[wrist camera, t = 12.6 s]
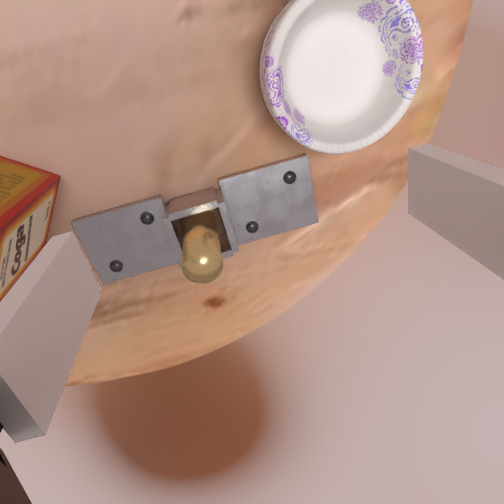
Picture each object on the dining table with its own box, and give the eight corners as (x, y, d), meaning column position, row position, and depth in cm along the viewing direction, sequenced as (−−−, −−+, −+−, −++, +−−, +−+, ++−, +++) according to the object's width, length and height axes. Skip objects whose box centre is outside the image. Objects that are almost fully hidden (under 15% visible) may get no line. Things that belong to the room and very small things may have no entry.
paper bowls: (226, 84, 40) (233, 89, 33) (317, -51, 36) (348, -78, 29) (324, 165, 46) (348, 184, 39) (413, 57, 42) (457, 56, 35)
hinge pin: (189, 238, 48) (189, 288, 37) (179, 210, 46) (176, 254, 35) (219, 229, 48) (227, 277, 37) (210, 201, 46) (216, 243, 36)
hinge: (104, 280, 49) (96, 301, 44) (73, 219, 45) (60, 237, 40) (316, 219, 49) (328, 234, 45) (305, 153, 45) (317, 163, 41)
